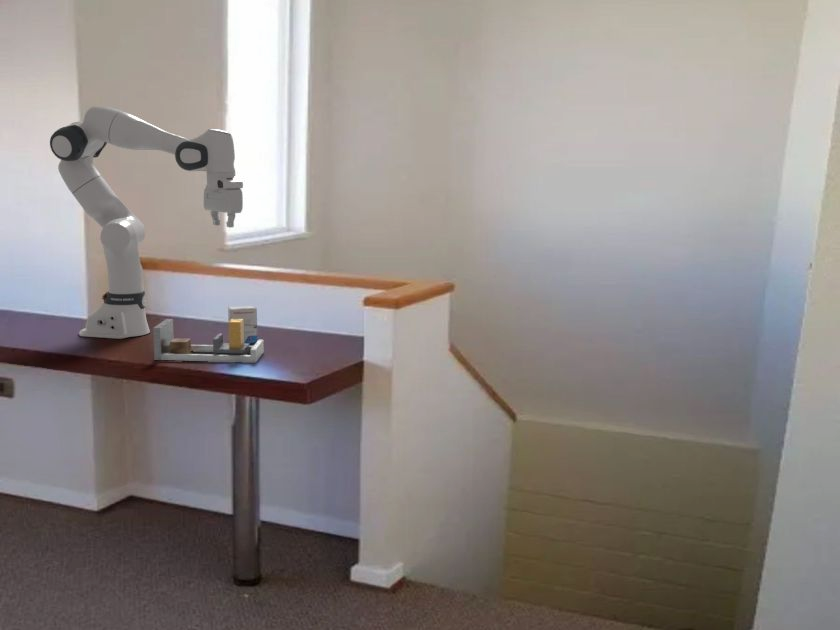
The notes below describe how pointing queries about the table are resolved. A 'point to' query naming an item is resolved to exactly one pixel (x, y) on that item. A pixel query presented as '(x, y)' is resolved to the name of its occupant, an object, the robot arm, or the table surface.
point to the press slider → (232, 340)
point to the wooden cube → (180, 346)
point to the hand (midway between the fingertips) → (223, 226)
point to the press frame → (197, 348)
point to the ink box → (246, 321)
